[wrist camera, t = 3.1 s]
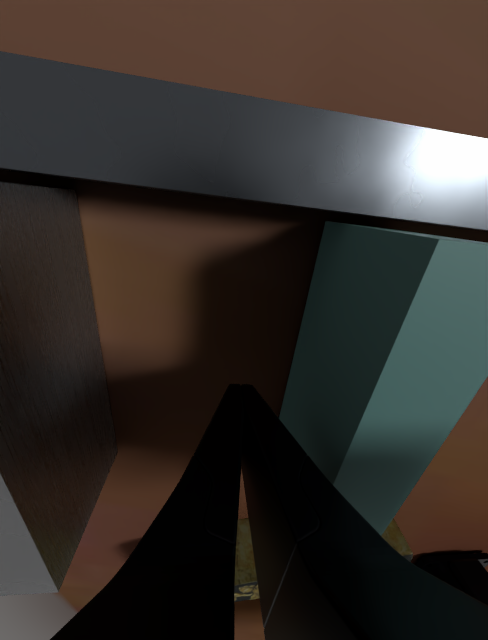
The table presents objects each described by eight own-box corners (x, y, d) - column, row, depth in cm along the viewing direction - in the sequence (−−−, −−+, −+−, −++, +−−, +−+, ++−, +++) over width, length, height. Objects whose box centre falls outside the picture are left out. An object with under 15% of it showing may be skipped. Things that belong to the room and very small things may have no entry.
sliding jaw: (313, 455, 14) (356, 573, 9) (269, 456, 13) (293, 577, 9) (392, 229, 9) (568, 254, 4) (325, 221, 8) (439, 238, 4)
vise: (495, 452, 15) (610, 557, 11) (43, 452, 12) (-63, 599, 8) (702, 199, 9) (1165, 195, 5) (-92, 68, 6) (-995, -325, 2)
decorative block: (166, 545, 17) (154, 621, 14) (156, 528, 16) (141, 606, 13) (377, 509, 18) (410, 577, 14) (380, 490, 16) (418, 559, 13)
